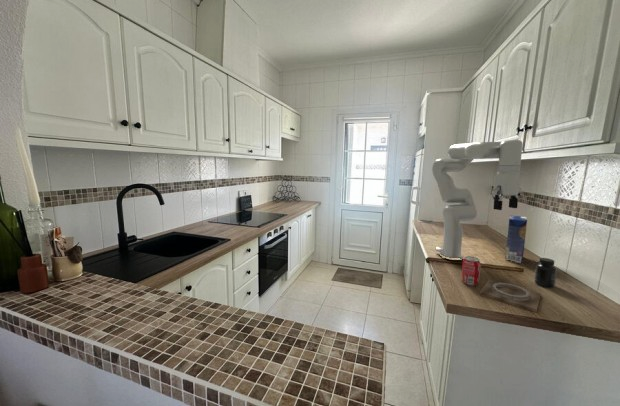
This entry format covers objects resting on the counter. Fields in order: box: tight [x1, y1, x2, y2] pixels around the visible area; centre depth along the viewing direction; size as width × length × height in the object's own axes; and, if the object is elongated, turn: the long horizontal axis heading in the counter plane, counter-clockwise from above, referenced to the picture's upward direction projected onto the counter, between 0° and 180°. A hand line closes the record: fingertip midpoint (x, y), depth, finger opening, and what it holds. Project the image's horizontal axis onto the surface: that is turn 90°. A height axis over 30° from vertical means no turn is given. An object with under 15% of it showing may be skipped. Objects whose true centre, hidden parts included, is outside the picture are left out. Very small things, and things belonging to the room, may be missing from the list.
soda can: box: [461, 255, 482, 286], centre depth 116 cm, size 7×7×12 cm
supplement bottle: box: [534, 257, 557, 289], centre depth 112 cm, size 7×7×12 cm
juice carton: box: [504, 215, 528, 264], centre depth 142 cm, size 12×8×24 cm, turn 140°
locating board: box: [479, 279, 542, 313], centre depth 105 cm, size 18×16×3 cm
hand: (505, 208), depth 110 cm, fingers open, 9 cm apart
